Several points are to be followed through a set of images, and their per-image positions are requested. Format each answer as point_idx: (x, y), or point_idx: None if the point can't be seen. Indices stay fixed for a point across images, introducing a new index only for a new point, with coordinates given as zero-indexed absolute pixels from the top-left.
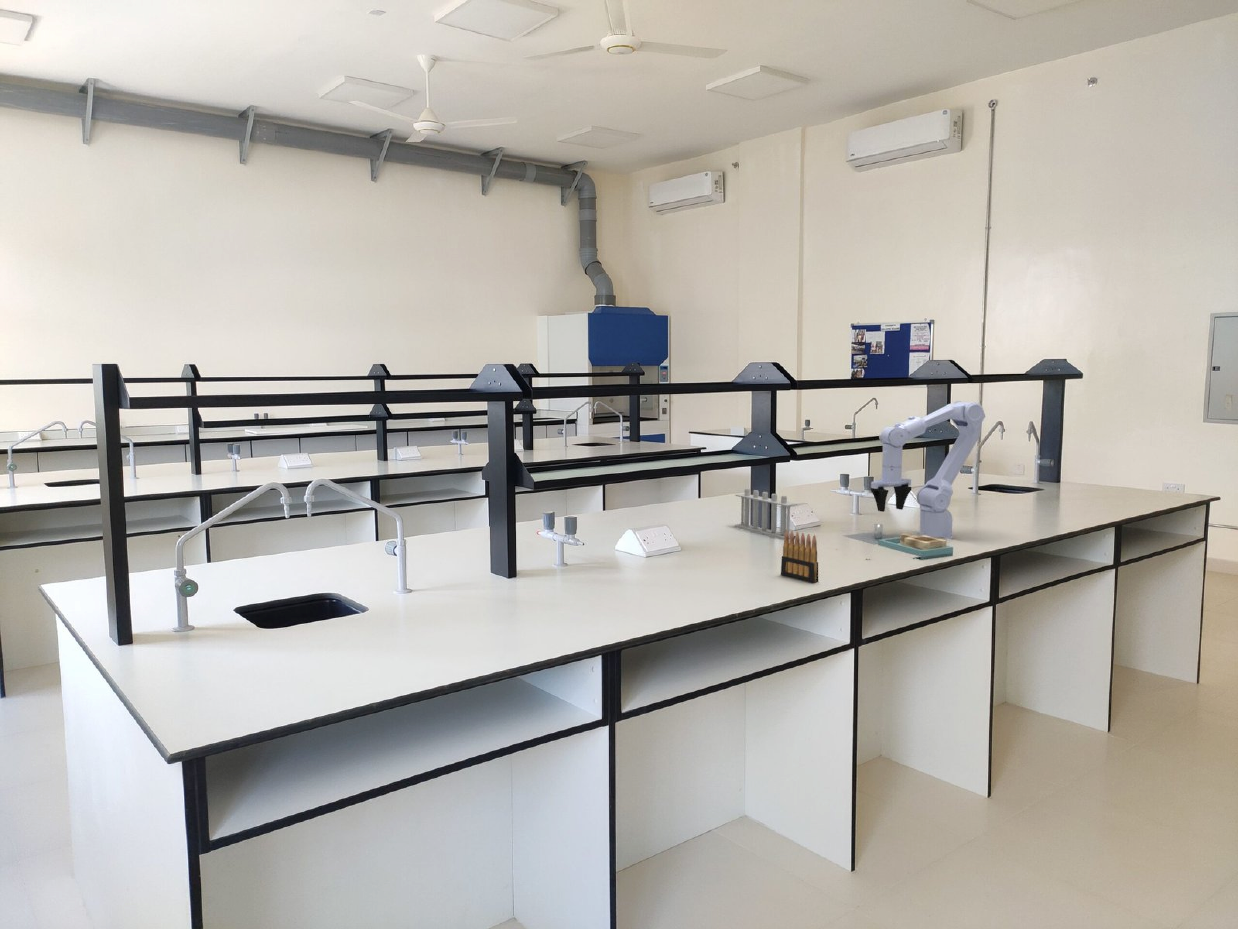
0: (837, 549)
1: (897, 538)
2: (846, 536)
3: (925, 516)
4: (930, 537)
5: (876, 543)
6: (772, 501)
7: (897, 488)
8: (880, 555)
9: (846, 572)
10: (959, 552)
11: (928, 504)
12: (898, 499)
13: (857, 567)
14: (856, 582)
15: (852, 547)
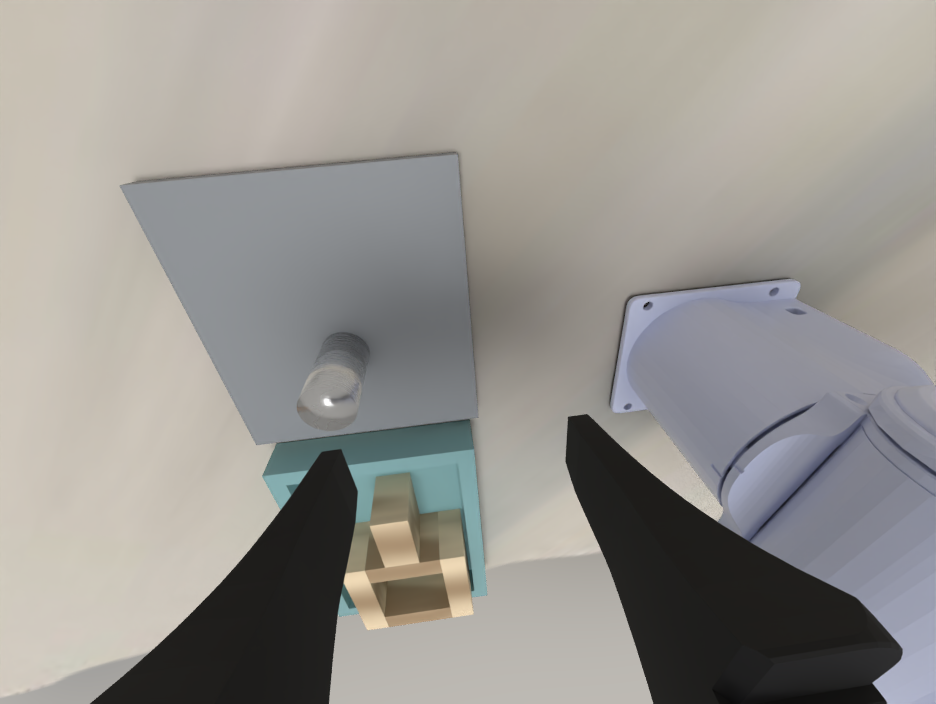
0: (34, 418)
1: (383, 472)
2: (147, 224)
3: (695, 457)
4: (454, 582)
5: (277, 435)
6: None
7: (700, 669)
8: (228, 528)
9: (20, 640)
10: (543, 539)
11: (770, 543)
12: (612, 511)
13: (74, 613)
14: (36, 687)
15: (141, 403)
